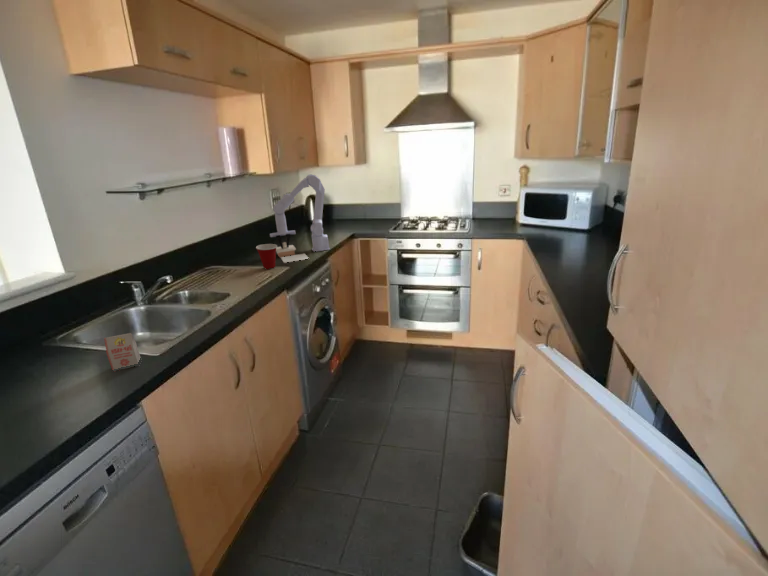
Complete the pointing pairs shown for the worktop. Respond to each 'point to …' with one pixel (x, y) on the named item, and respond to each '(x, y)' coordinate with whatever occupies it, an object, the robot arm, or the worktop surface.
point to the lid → (285, 248)
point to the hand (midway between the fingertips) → (284, 247)
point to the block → (286, 253)
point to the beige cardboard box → (122, 351)
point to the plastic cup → (267, 255)
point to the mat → (294, 258)
